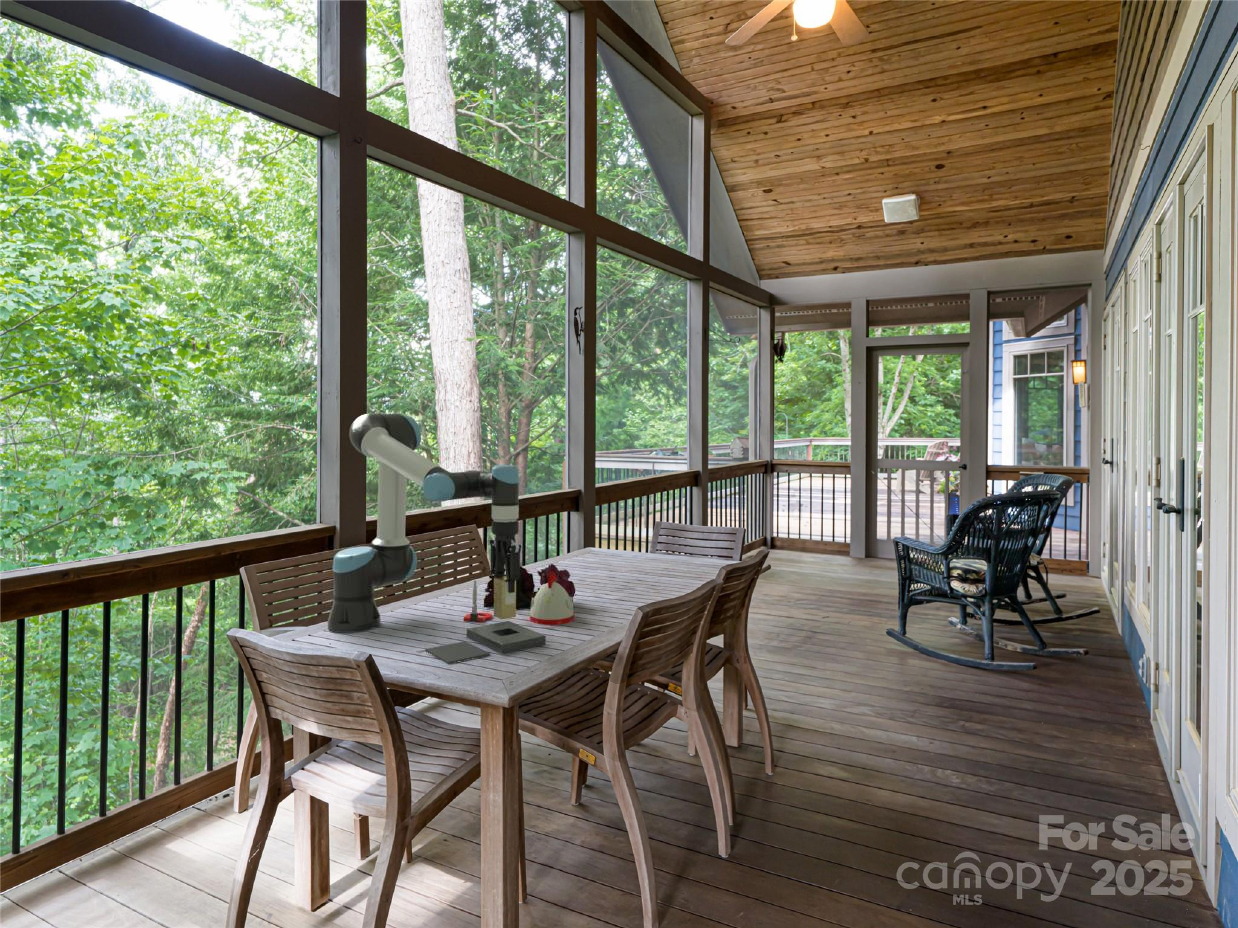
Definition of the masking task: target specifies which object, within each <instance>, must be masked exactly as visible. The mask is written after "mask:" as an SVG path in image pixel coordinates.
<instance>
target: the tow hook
mask: <svg viewBox="0 0 1238 928" xmlns="http://www.w3.org/2000/svg"><path fill="white" fill-rule="evenodd" d="M477 588H478V587H477V580H475V579H474V580H473V587H472V604H471V613H467V614H466V615H464V616H463V622H471V621H475V623H478V622H479V623H485V622H484V621H487V620H490V619H491V620H492V618H493V614H492V613H489V612H478V605H477V591H478V590H477ZM478 615H480V616H478Z"/></svg>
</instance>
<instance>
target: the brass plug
mask: <svg viewBox="0 0 1238 928" xmlns="http://www.w3.org/2000/svg"><path fill="white" fill-rule="evenodd" d="M504 580H507V578H506V576H503V577H496V578H494V605H493V617H495V618H497V619H500V620H508V619H512V618H516V617H517V615H516V613H517V609H516V581H515V603H513V604H507V605H506V604H505V581H504Z"/></svg>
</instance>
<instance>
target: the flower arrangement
mask: <svg viewBox="0 0 1238 928" xmlns="http://www.w3.org/2000/svg"><path fill="white" fill-rule="evenodd" d="M494 570H495V569H494ZM536 572H537V574H538V576H539V577H540V579H539V584H540V586H543V585H545V584H547V583H548V579H549V575H550V573H551V572H554V574H555V577H556V583H558V584H559V585H561V586H562V587H563V588H564V589H565V590H566V592H567V593H568V595H569V597H572V603H573V602H574V599H573V598H574V597H575V594H576V587H575V583H574V582H573V581H572V580H569V579H570V577H571V574H570V571H568V569H560V570H559V569H558V567H557V566H556V565H555V564H554V563H550V564H548V565H547V567H545V568H542V569H540V570H536ZM504 574H505V576H506V569H505V566H504ZM502 577H503V576H502ZM488 578H489V579H490V580H489V581H487V584H486V585H487V586H486V588H485V589H484V591H485V593H486V594H485V595H484V598H483V608H485V607H489V608H492V607H494V578H495V577H494V574H490V575H488ZM535 588H536V585H535V581H534V575H533V573H531V572H530V573H529V572H528V570H527V569H526V568H524V567H522V565H520V579H518V580H516V610H518V609H519V610H520V609H531V602H532V598H535V596H536V594H537V592H538V591H539V589H540V588H541V587H538V588H537V591H536V590H535ZM573 604H574V603H573Z"/></svg>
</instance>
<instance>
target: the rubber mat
mask: <svg viewBox="0 0 1238 928" xmlns="http://www.w3.org/2000/svg"><path fill="white" fill-rule="evenodd" d="M425 651H426V652H425ZM424 652H425V653H427V652H428V653H427V654H429V653H430V654H429V655H431V654H432V655H431V656H433V655H434V656H435V657H434V656H433V657H434V658H437V659H438V660H440V661H441V660H442V662H443V661H444V662H443V663H445V662H446V663H445V664H447V665H452V664H455V663H454V662H457V663H459V662H458V661H461V662H465V661H464V660H466V661H468V660H467V659H471V660H473V659H472V658H475V659H479V658H478V657H480V658H483V657H482V656H484V657H489V656H491V652H489V651H486V650H485V649H482V648H481V647H479V646H476V645H474V644H472V643H470V642H469V641H465V640H464V641H459V642H454V643H449V644H444V645H438V646H434V647H428V648H425V649H424ZM451 663H452V664H451Z"/></svg>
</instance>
